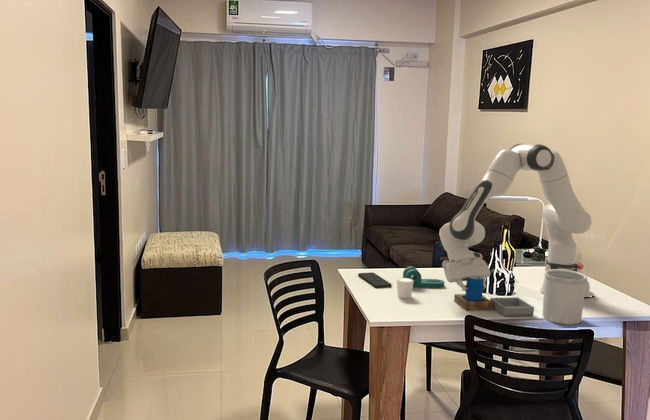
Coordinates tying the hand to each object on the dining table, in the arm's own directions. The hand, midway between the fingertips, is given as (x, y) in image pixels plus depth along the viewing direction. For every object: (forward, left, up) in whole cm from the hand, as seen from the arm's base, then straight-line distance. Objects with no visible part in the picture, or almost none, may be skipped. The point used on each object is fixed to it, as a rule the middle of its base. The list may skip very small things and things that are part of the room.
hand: (475, 289), depth 228 cm
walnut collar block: (0, -1, -7) cm, 7 cm away
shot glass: (+24, -15, -7) cm, 29 cm away
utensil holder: (-28, +16, -7) cm, 33 cm away
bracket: (+10, -29, -7) cm, 31 cm away
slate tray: (-12, +7, -7) cm, 16 cm away
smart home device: (+31, -36, -8) cm, 48 cm away
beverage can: (0, -1, -7) cm, 7 cm away
